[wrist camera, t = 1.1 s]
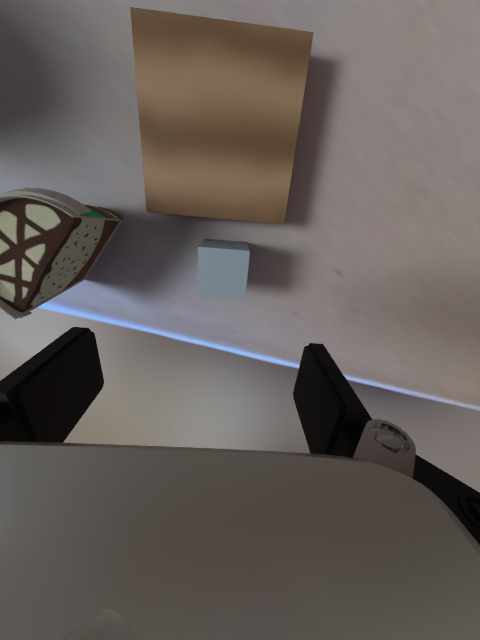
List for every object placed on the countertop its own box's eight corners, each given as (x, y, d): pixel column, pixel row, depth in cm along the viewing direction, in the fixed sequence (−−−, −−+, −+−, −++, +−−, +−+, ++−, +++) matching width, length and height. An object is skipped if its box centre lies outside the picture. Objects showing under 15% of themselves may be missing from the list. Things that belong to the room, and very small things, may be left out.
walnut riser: (144, 33, 20) (130, 7, 18) (303, 54, 21) (313, 32, 18) (155, 211, 26) (146, 212, 24) (279, 222, 27) (284, 224, 25)
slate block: (204, 238, 28) (197, 246, 23) (246, 242, 28) (249, 251, 23) (204, 279, 30) (197, 296, 25) (243, 282, 30) (245, 299, 25)
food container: (77, 164, 24) (-14, 140, 15) (130, 208, 26) (76, 210, 17) (30, 255, 28) (-66, 278, 19) (79, 288, 30) (13, 323, 21)
